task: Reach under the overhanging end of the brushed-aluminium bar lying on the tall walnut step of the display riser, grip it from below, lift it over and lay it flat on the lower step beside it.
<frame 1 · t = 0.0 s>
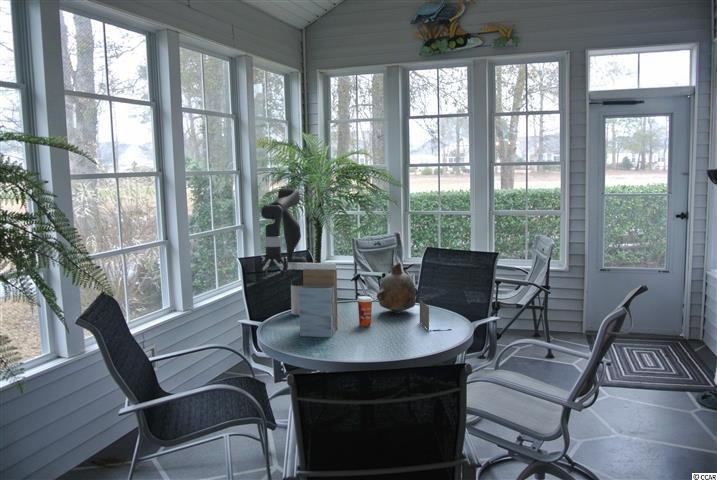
hand: (273, 277, 285), 29 cm above the table, tool pointing down, fingers open, 8 cm apart
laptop: (435, 327, 302), on the table
display riser: (319, 332, 292), on the table
aluminium bar: (310, 269, 293), point 32 cm above the table, touching display riser
jug: (397, 313, 331), on the table
coffee cup: (365, 325, 305), on the table
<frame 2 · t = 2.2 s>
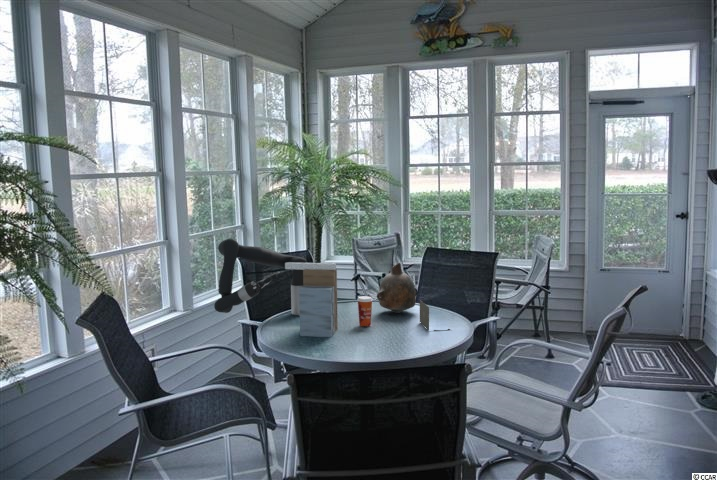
hand: (273, 276, 297), 28 cm above the table, tool pointing upward, fingers open, 8 cm apart
nothing on the table moved.
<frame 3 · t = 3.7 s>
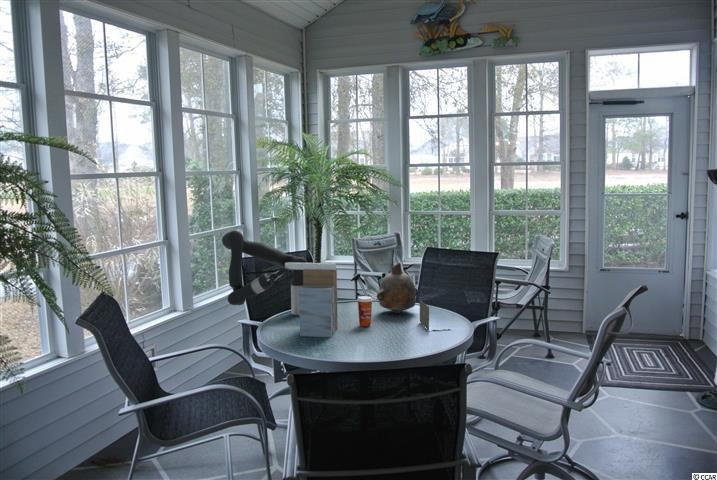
hand: (287, 268, 295), 32 cm above the table, tool pointing upward, fingers open, 8 cm apart
nothing on the table moved.
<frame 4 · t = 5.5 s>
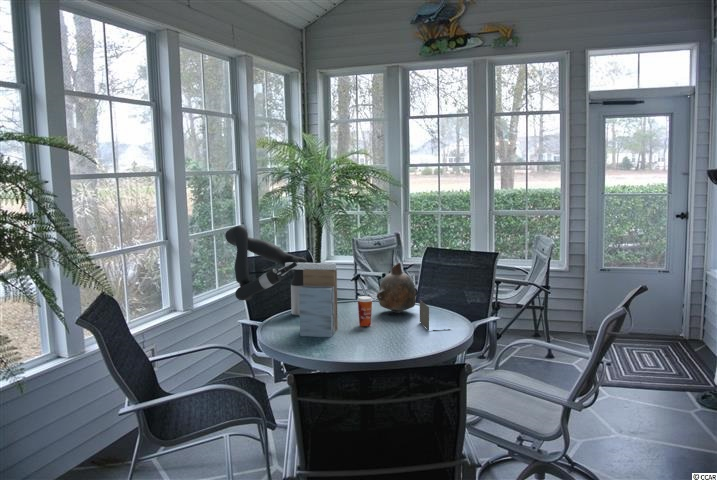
hand: (297, 263, 294), 35 cm above the table, tool pointing upward, fingers closed on aluminium bar, 3 cm apart
aluminium bar: (310, 269, 293), point 32 cm above the table, touching display riser, gripper
everything else where it was.
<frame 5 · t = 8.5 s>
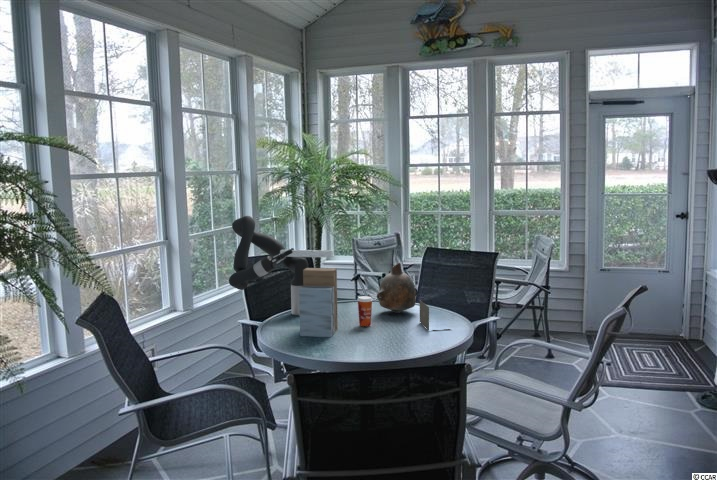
hand: (292, 250, 286), 43 cm above the table, tool pointing upward, fingers closed on aluminium bar, 3 cm apart
aluminium bar: (306, 256, 285), point 40 cm above the table, touching gripper
everything else where it was.
when the fingers open (28 cm above the table, at t = 11.5 s): aluminium bar stays where it is, resting on display riser.
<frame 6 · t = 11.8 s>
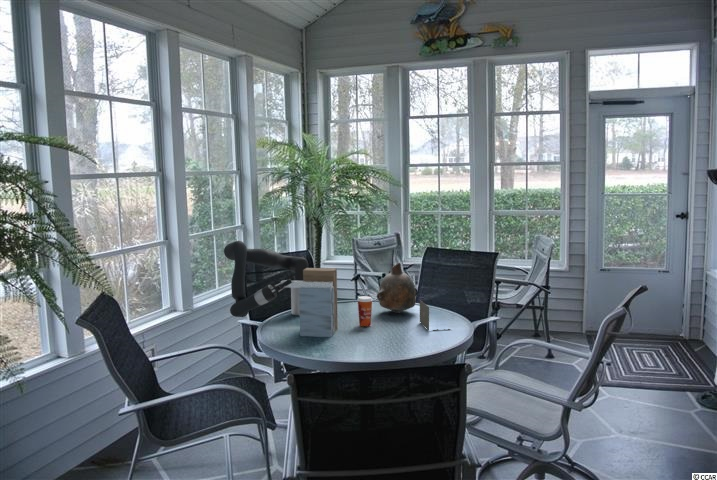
hand: (292, 279, 287), 28 cm above the table, tool pointing upward, fingers open, 6 cm apart
aluminium bar: (306, 287, 286), point 24 cm above the table, touching display riser
everything else where it was.
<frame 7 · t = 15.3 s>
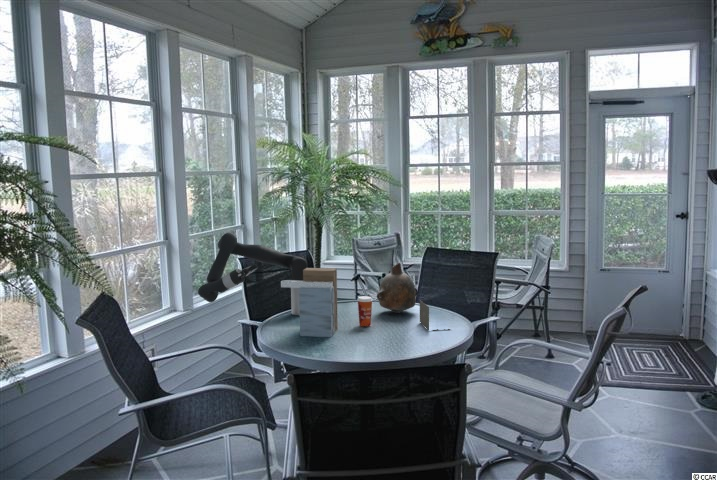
hand: (259, 264, 293), 35 cm above the table, tool pointing upward, fingers open, 8 cm apart
nothing on the table moved.
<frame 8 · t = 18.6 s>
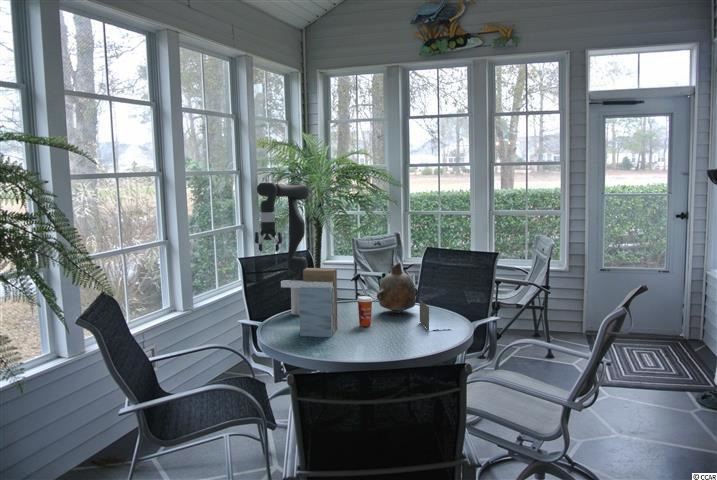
hand: (268, 251, 302), 40 cm above the table, tool pointing down, fingers open, 8 cm apart
nothing on the table moved.
at the end: aluminium bar 0.1 cm from the target spot on the display riser, point 24.0 cm above the display riser's base; aluminium bar tilted 0°; the gripper is holding nothing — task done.
